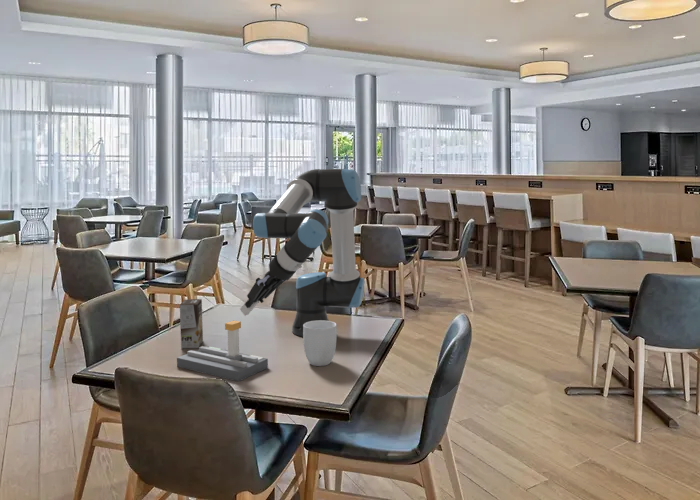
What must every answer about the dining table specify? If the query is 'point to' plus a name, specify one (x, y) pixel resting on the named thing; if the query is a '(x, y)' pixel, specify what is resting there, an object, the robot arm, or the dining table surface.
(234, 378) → the switch panel
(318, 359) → the mug
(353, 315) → the dining table surface
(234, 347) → the lever
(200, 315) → the coffee box
